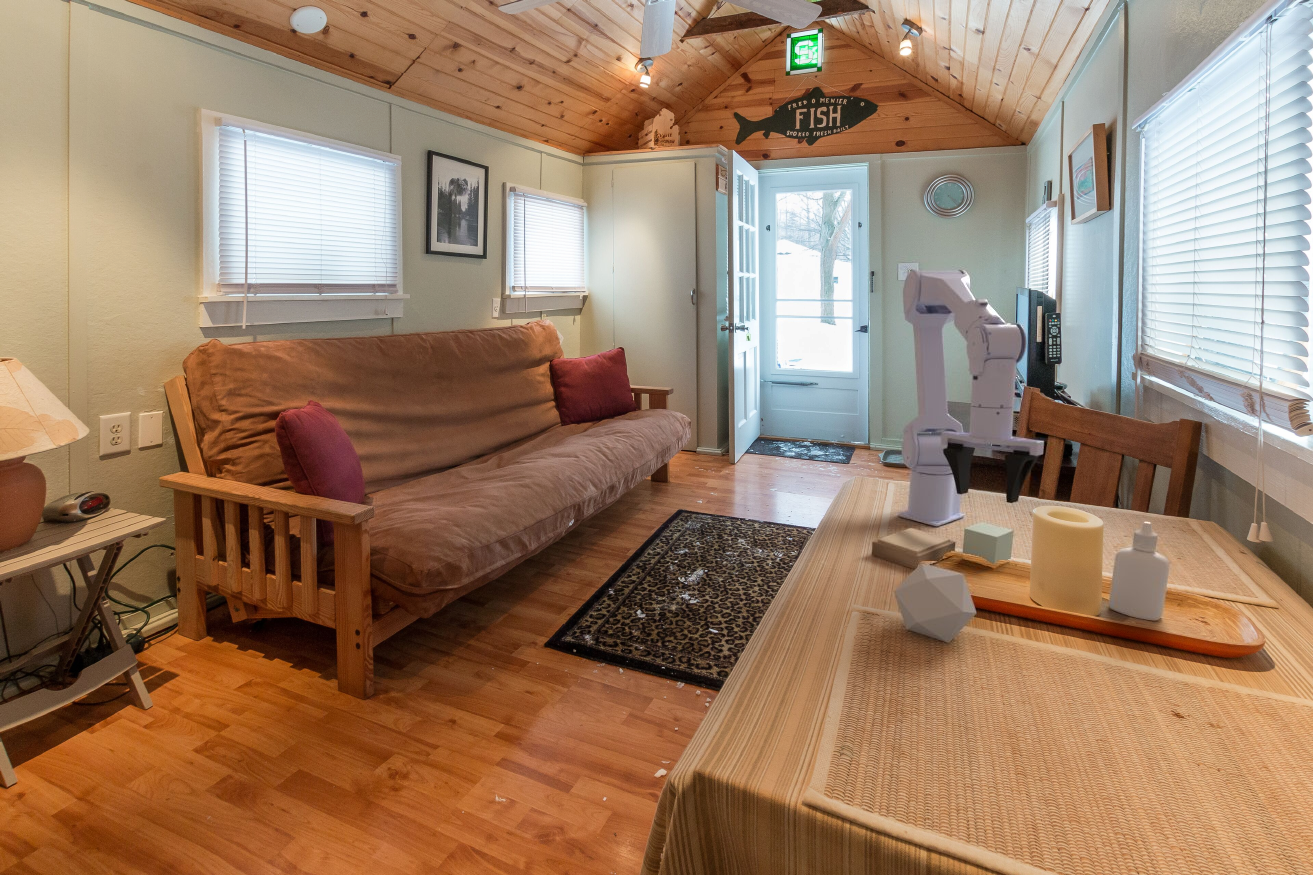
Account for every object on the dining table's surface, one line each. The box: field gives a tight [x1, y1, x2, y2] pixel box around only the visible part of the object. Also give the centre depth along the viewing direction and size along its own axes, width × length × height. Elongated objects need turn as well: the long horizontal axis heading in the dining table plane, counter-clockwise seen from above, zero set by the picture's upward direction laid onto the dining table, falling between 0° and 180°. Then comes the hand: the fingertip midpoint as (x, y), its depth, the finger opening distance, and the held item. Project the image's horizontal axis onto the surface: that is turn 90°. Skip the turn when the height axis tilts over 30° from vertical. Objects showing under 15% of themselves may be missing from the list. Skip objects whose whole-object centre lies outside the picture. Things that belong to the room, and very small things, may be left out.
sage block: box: [961, 521, 1014, 564], centre depth 109 cm, size 5×5×5 cm
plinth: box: [871, 527, 956, 570], centre depth 111 cm, size 10×8×3 cm
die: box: [893, 563, 977, 644], centre depth 85 cm, size 8×9×10 cm
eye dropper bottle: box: [1108, 521, 1171, 622], centre depth 90 cm, size 4×6×12 cm
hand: (986, 497), depth 107 cm, fingers open, 7 cm apart
